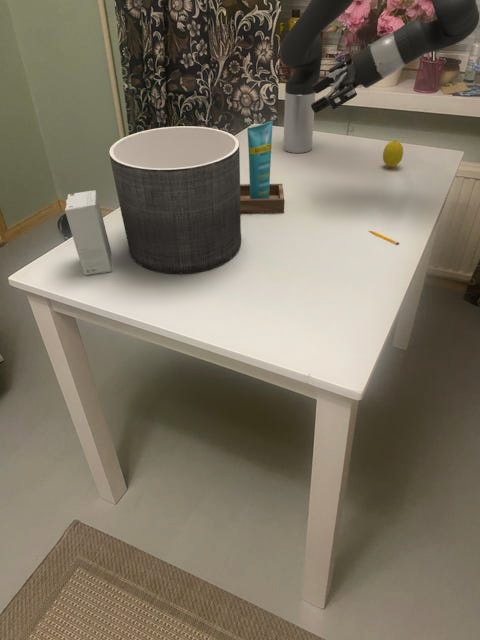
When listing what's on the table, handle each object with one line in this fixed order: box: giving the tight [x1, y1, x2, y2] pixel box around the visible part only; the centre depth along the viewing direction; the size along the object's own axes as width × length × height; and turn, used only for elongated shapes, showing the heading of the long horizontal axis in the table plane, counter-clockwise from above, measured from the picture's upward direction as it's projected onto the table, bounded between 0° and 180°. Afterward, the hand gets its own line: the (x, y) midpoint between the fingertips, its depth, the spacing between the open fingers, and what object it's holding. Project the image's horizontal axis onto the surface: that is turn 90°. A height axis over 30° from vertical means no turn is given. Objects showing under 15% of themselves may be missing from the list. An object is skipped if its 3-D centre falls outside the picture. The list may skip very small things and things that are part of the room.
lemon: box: [382, 139, 404, 169], centre depth 137 cm, size 6×6×8 cm
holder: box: [240, 183, 285, 215], centre depth 120 cm, size 10×12×4 cm
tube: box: [247, 120, 274, 199], centre depth 115 cm, size 7×5×19 cm, turn 133°
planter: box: [108, 125, 242, 275], centre depth 99 cm, size 25×25×22 cm
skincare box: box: [64, 189, 113, 276], centre depth 96 cm, size 8×6×15 cm
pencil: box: [368, 230, 400, 246], centre depth 107 cm, size 1×8×1 cm, turn 38°
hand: (313, 99), depth 112 cm, fingers open, 8 cm apart
